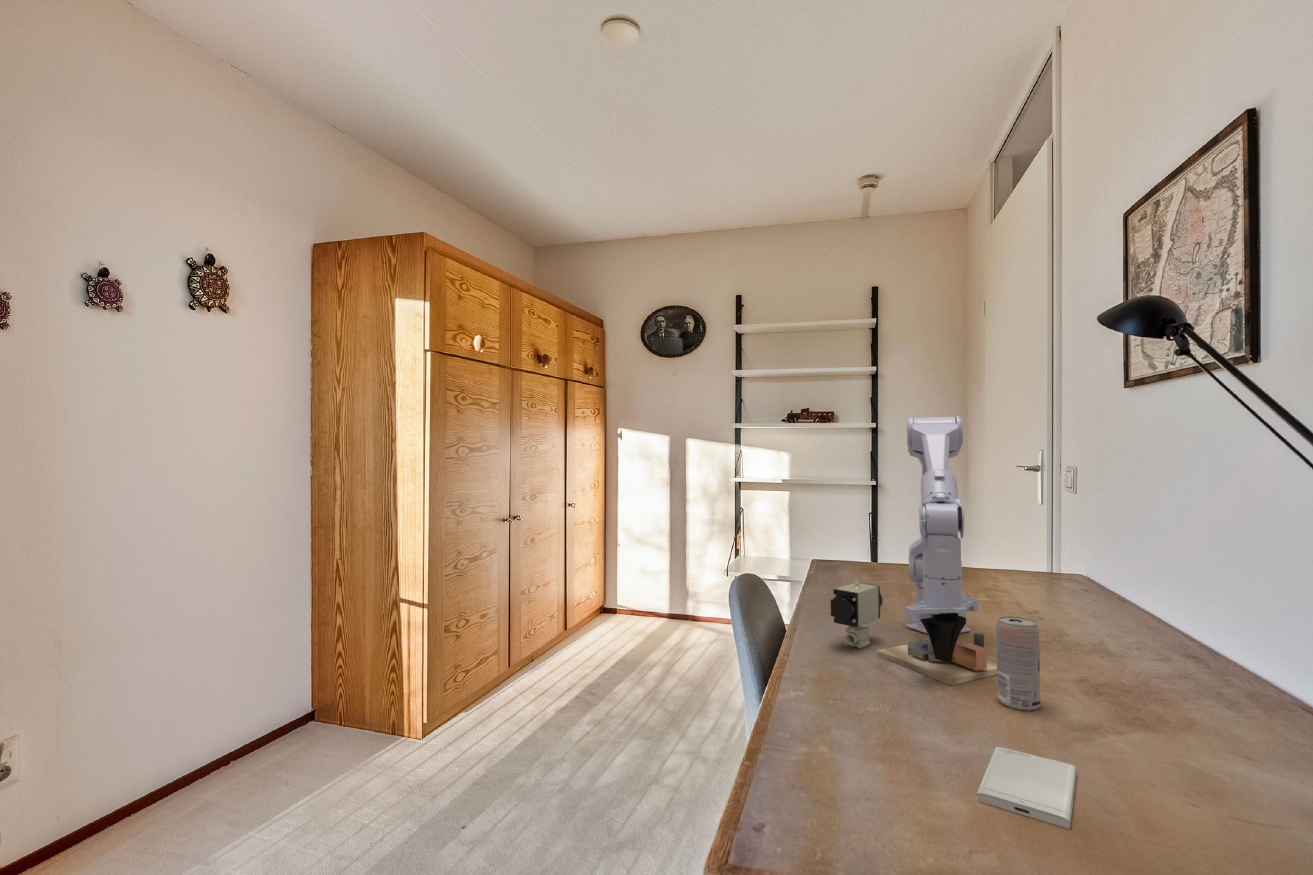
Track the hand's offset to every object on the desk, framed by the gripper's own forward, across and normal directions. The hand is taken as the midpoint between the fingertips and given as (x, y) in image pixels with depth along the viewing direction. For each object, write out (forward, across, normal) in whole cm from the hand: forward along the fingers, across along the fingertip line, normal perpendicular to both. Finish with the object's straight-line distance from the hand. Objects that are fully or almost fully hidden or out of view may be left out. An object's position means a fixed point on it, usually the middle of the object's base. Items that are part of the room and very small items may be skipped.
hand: (943, 659), depth 101 cm
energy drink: (+3, +1, -12) cm, 13 cm away
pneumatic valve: (+3, -2, +18) cm, 19 cm away
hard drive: (+3, -19, -28) cm, 34 cm away
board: (+3, +5, +4) cm, 7 cm away
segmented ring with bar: (+1, +5, +3) cm, 6 cm away
